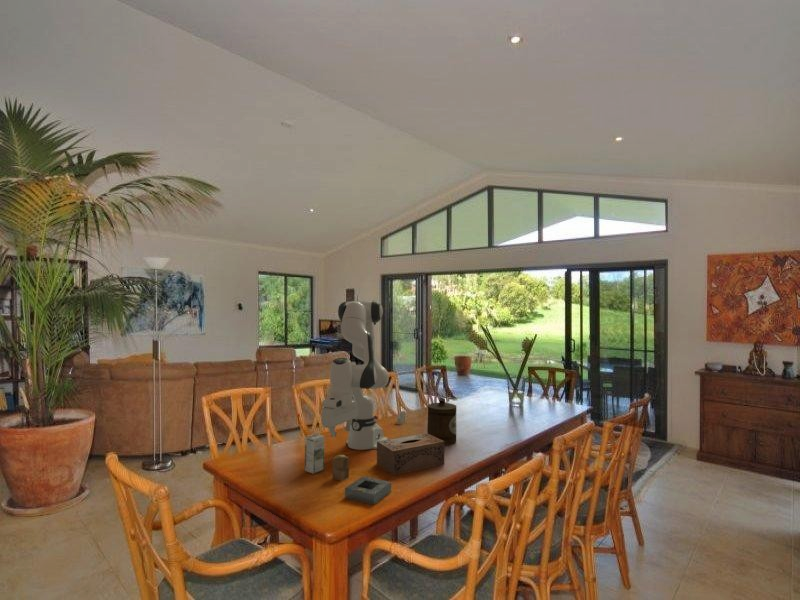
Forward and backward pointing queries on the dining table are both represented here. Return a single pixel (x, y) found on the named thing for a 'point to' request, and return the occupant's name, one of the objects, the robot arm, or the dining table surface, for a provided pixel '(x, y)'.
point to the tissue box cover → (410, 453)
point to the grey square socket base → (368, 490)
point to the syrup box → (314, 453)
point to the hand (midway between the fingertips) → (340, 433)
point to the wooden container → (442, 421)
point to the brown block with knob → (340, 467)
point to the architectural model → (401, 418)
